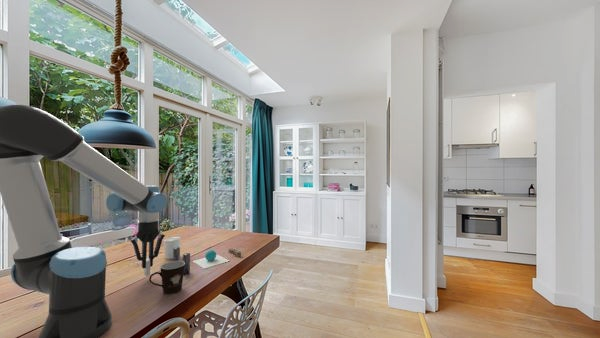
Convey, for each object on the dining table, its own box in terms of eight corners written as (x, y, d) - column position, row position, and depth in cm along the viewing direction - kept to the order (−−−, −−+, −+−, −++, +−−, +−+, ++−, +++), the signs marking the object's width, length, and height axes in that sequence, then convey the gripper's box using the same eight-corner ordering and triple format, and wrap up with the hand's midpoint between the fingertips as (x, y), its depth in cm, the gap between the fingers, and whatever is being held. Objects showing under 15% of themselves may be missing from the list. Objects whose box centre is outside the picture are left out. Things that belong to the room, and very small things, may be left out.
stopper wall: (240, 256, 129) (241, 252, 129) (237, 257, 127) (237, 252, 127) (231, 252, 136) (231, 248, 136) (228, 253, 134) (228, 248, 134)
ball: (220, 253, 123) (211, 250, 120) (214, 263, 121) (206, 260, 118) (215, 250, 127) (207, 247, 124) (209, 260, 125) (201, 257, 122)
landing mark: (229, 261, 122) (229, 260, 122) (203, 268, 111) (203, 268, 111) (217, 254, 131) (217, 254, 131) (192, 261, 121) (192, 261, 121)
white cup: (160, 258, 125) (160, 240, 125) (171, 254, 133) (172, 236, 133) (172, 260, 123) (172, 241, 123) (183, 255, 131) (183, 237, 131)
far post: (180, 266, 115) (180, 247, 115) (174, 267, 113) (174, 249, 113) (178, 264, 117) (178, 246, 117) (171, 266, 115) (172, 247, 115)
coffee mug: (185, 283, 96) (186, 259, 97) (183, 293, 88) (183, 267, 89) (153, 288, 92) (154, 263, 92) (148, 299, 84) (148, 271, 84)
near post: (190, 273, 106) (191, 254, 106) (184, 275, 104) (184, 255, 104) (188, 271, 108) (188, 252, 108) (181, 273, 106) (181, 254, 106)
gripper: (162, 217, 108) (161, 268, 108) (128, 221, 99) (127, 276, 98) (167, 219, 103) (166, 272, 103) (132, 224, 94) (130, 282, 93)
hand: (147, 274), depth 100 cm, fingers closed
